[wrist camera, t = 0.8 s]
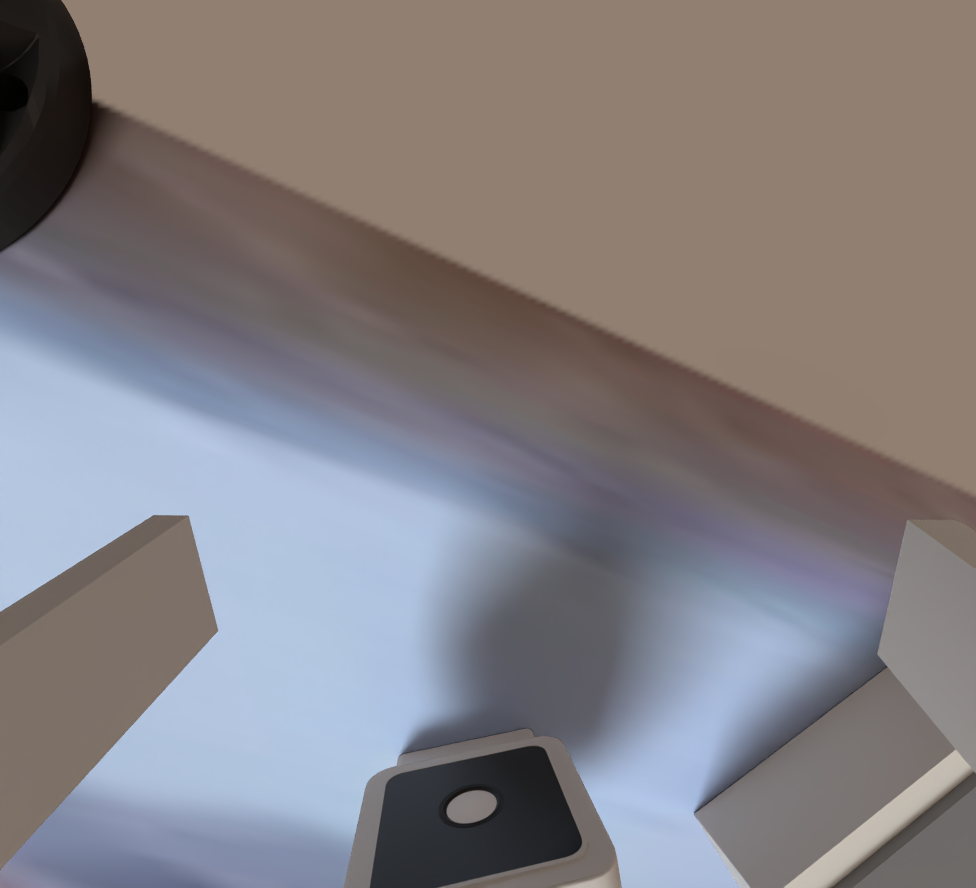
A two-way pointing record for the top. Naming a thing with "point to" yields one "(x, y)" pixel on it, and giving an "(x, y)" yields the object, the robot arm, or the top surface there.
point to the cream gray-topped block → (853, 803)
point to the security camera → (482, 820)
